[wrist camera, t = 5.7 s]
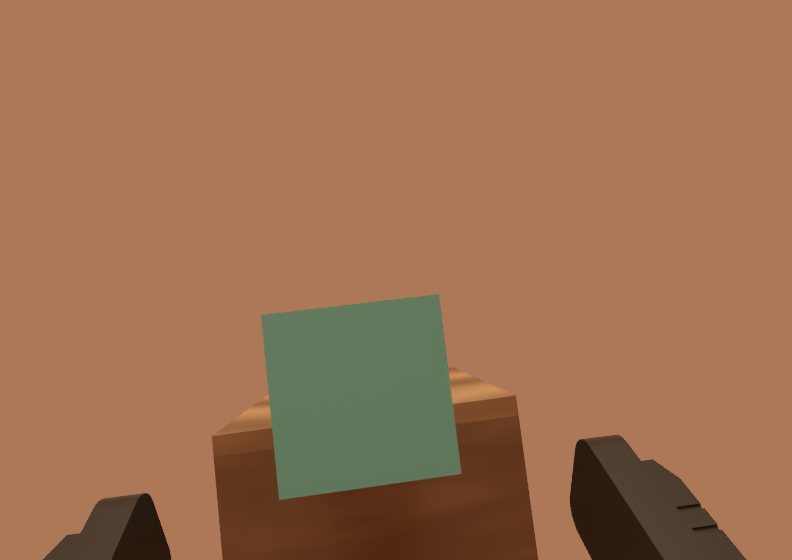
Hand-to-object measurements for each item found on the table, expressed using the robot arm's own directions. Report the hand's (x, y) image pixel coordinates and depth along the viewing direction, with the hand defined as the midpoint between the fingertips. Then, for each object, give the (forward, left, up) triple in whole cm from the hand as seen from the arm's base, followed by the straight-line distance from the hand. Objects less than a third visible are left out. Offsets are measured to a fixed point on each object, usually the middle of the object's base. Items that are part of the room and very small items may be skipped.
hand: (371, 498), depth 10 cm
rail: (-8, -10, 0) cm, 13 cm away
